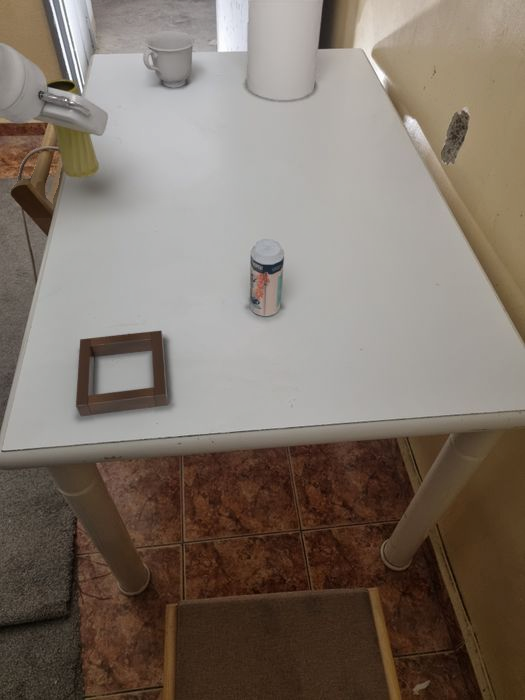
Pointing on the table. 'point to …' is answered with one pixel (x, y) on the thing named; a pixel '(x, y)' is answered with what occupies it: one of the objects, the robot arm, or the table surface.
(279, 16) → the cylinder
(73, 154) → the vase
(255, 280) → the beer can
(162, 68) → the teacup
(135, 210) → the table surface
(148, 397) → the brown wooden square frame
